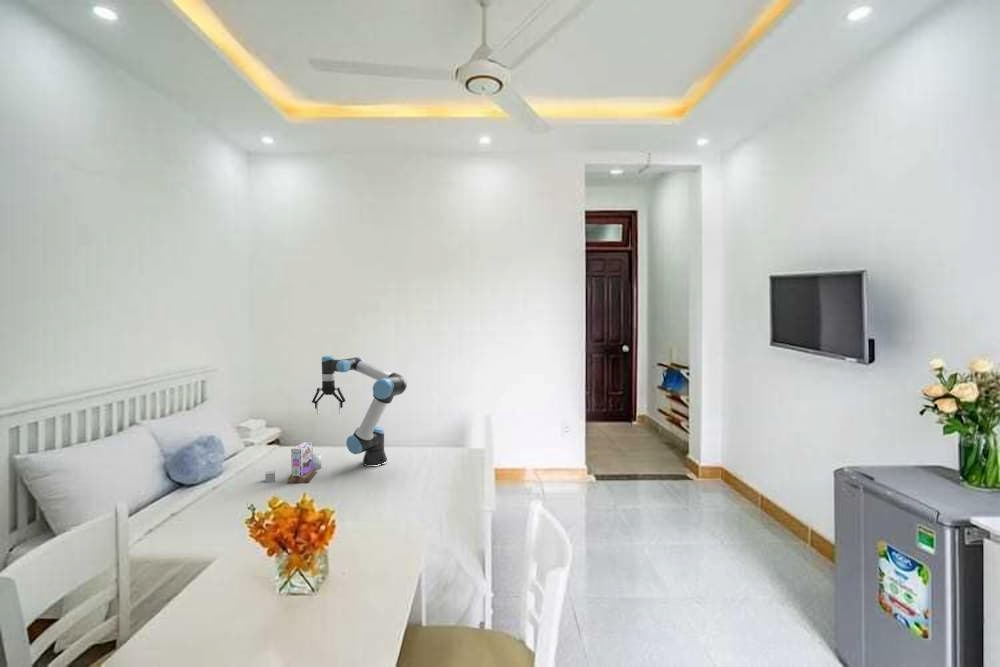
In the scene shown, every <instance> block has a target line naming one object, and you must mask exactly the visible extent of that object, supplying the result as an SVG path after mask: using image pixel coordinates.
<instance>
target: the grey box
mask: <svg viewBox="0 0 1000 667" xmlns="http://www.w3.org/2000/svg"><path fill="white" fill-rule="evenodd" d="M264 475H265V484H267V483H273V482H275V483H276V471H275V470H268V471H267V470H266V471H265V472H264Z"/></svg>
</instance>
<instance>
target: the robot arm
mask: <svg viewBox="0 0 1000 667" xmlns="http://www.w3.org/2000/svg"><path fill="white" fill-rule="evenodd" d="M349 371H355V372H358V373H360V374H362V375H364V376H367V377H369V378H371V379H374V380H375V382H374V383H373V385H372V393H373V394H372V396H373V400H372V402H371V404H370V405H369V408H368V410H367V411H366V413H365V416H364V418H363V419H362V422H361V423H360V426H359V427H357V428H356V429H355V430H354V432H353V434H352V435H349V436H348V437H347V438H346V442H345V444H346V447H347V450H348V451H349V452H350V453H351V454H352V455H358V454H361V453H364V455H363V458H362V464H366V465H378V464H382V463H384V462H386V461H387V462H388V457H387V454H386V452H385V430H384V428H383V427H381V426H378V423H379V421H380V420H381V417H382V415H383V413H384V411H385V409H386V408H387V405H388V404H391V403H392V401H393V400H394V397H395V396H400V395H401V394H403V393H404V392H405V391H406V390H407V386H408V384H407V383H408V382H407V380H406V379H405V377H403V376H402V375H401V374H398V373H396V372H390V371H387V370H385V369H382V368H380V367H377V366H376V365H374V364H371V363H369V362H367V361H365V360H364V358H362V357H358V356H356V357H350V358H343V359H335V356H334V355H323V356H322V357H321V380H322V381H321V382H322V383H321V387H317V388H316V392H315V394H314V396H313V399H312V400H311V403H312V404H314V409H316V414H317V415H319V414H320V403H319V401H321V399H322V398H323V397H324V396H328V395H329V396H333V397H334V398H335V399H336V400H337V401H338V402H339V403H338V410H339V411H338V413H339V414H341V413H342V409H343V406H344V405H343V403H345V402H346V398H345V397H344V395H343V392H342V390H341V387H339V386H337V387H335V386H336V385H335V384H336V383H335V382H336V381H335V377H336V376H335V372H338V373H348V372H349ZM335 391H336V392H337V393H338V394H339V395H338V394H337V393H336V392H335ZM320 392H322V393H321V394H320ZM319 394H320V396H319ZM318 396H319V397H318Z"/></svg>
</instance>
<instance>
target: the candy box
mask: <svg viewBox="0 0 1000 667" xmlns="http://www.w3.org/2000/svg"><path fill="white" fill-rule="evenodd" d="M313 448H314V447H313V442H305V441H303V442H302V443H300V444H298V445H296V446H294V447H292V448H291V449H290V450H291V474H292V476H295V477H301V476H303V475H305V474H306V473H308V472H309V471H311V470H313V454H314V452H313Z"/></svg>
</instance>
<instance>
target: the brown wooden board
mask: <svg viewBox="0 0 1000 667" xmlns="http://www.w3.org/2000/svg"><path fill="white" fill-rule="evenodd" d="M317 473H318V472H317V470H316V468H313V470H311V471H309V472H308V473H306V474H305V475H303V476H301V477H295V476H292V473H291V474H290V475H289V476H288V477H287V482H286V484H309V483H310V482H311V481H312V480H313V478H314V477H315V476H316V474H317Z"/></svg>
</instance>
